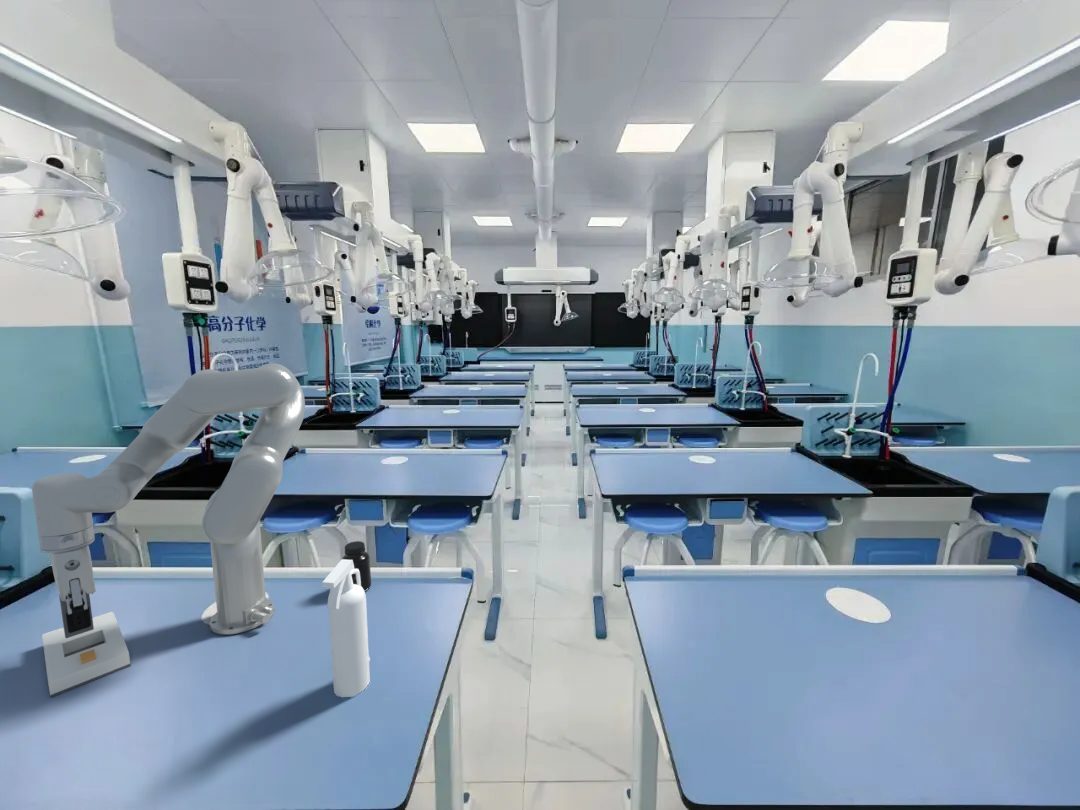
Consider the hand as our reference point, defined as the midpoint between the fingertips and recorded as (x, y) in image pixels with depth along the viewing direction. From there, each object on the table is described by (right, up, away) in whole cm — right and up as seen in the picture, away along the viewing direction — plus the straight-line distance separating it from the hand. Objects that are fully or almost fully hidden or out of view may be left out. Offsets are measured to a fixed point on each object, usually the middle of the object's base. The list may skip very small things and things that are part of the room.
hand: (78, 623), depth 94 cm
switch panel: (0, -7, +1) cm, 8 cm away
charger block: (0, -1, 0) cm, 1 cm away
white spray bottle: (+57, -9, -5) cm, 58 cm away
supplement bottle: (+45, -4, +28) cm, 53 cm away
